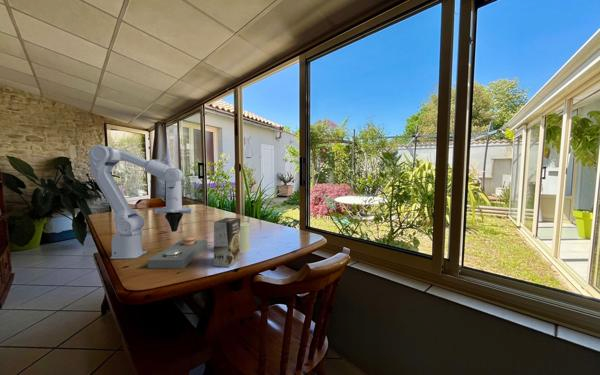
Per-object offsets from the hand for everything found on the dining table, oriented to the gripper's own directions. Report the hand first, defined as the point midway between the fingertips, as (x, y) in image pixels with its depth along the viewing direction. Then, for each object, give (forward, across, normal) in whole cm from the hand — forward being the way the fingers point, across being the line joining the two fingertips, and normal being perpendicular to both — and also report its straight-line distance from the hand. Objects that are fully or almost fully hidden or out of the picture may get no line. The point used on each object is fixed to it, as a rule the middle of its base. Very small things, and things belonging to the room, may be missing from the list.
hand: (174, 231), depth 99 cm
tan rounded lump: (+8, +4, +4) cm, 10 cm away
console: (+9, +4, -3) cm, 11 cm away
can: (+10, +25, +5) cm, 27 cm away
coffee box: (+10, +24, -10) cm, 28 cm away
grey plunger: (+9, +4, -10) cm, 14 cm away
